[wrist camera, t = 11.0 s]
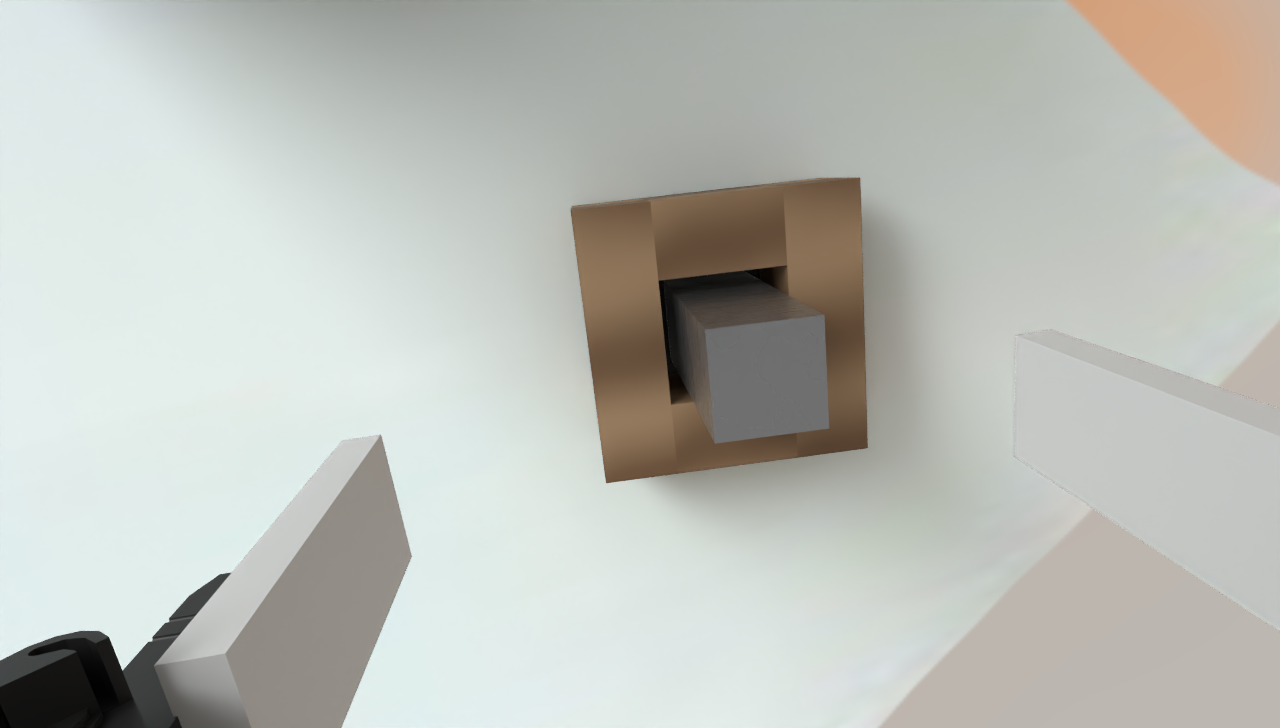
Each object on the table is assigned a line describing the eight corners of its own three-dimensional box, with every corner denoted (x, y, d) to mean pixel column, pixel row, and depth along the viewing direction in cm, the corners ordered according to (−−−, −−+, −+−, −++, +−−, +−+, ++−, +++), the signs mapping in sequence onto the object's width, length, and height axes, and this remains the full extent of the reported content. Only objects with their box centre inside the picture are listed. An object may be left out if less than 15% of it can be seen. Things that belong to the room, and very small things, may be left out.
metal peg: (662, 280, 35) (705, 329, 23) (743, 270, 35) (824, 314, 24) (670, 358, 36) (714, 443, 24) (748, 348, 36) (829, 428, 25)
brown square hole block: (571, 206, 34) (570, 210, 29) (820, 177, 34) (860, 177, 30) (602, 443, 37) (606, 482, 32) (830, 413, 37) (867, 448, 33)
